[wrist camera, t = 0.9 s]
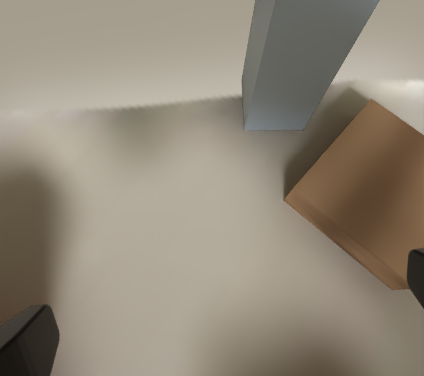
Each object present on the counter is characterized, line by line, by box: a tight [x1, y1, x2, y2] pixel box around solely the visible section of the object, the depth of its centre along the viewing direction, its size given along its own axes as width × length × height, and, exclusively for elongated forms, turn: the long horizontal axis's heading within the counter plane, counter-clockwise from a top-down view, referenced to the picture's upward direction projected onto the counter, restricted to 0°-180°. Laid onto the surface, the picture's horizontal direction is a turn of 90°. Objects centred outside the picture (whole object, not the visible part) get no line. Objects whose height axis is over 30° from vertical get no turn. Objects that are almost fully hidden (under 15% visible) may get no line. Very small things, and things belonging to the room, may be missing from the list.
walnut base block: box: [284, 99, 424, 290], centre depth 23 cm, size 9×9×3 cm
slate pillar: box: [242, 0, 379, 130], centre depth 20 cm, size 4×4×12 cm
